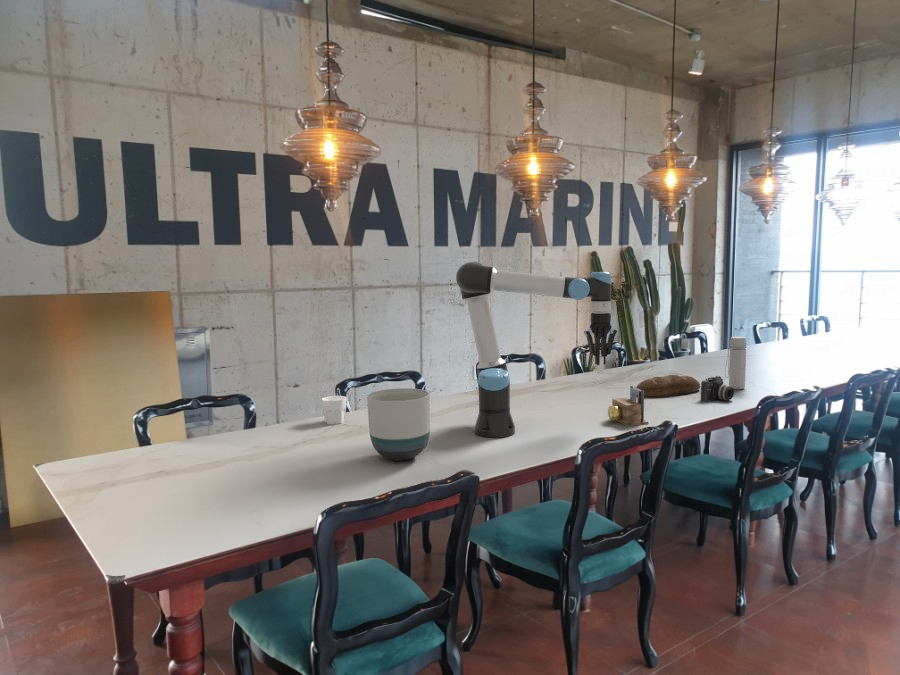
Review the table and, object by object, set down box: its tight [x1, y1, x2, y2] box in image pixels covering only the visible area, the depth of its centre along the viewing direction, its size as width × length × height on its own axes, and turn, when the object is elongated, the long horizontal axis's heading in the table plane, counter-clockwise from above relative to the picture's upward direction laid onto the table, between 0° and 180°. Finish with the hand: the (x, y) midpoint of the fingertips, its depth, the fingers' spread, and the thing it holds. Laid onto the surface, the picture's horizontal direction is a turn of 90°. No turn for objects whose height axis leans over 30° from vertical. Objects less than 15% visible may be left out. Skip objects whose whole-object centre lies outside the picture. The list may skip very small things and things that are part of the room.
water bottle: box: [724, 336, 747, 390], centre depth 295 cm, size 9×8×25 cm
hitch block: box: [611, 385, 649, 426], centre depth 239 cm, size 9×12×13 cm
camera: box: [700, 375, 735, 402], centre depth 272 cm, size 14×11×10 cm
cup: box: [321, 395, 347, 425], centre depth 250 cm, size 10×10×10 cm
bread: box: [635, 374, 701, 398], centre depth 290 cm, size 16×36×8 cm, turn 114°
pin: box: [607, 405, 623, 421], centre depth 239 cm, size 12×6×6 cm, turn 101°
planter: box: [366, 387, 431, 462], centre depth 200 cm, size 20×20×21 cm
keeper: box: [631, 387, 641, 404], centre depth 239 cm, size 2×7×6 cm, turn 11°
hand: (600, 372), depth 235 cm, fingers closed
